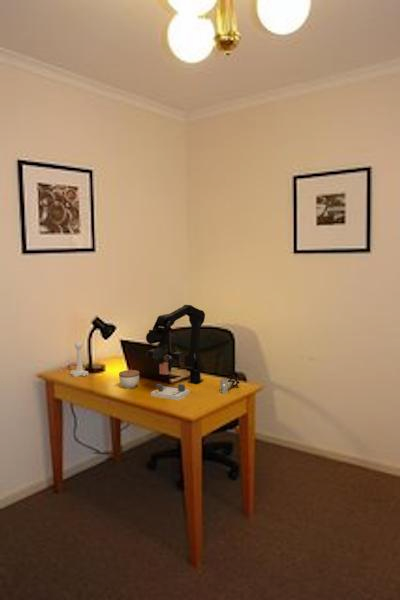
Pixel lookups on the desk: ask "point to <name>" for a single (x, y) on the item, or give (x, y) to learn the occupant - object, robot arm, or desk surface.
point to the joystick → (79, 362)
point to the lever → (181, 387)
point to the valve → (228, 384)
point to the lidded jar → (129, 378)
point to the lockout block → (164, 368)
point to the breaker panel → (170, 393)
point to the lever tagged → (159, 387)
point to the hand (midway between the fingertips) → (165, 371)
